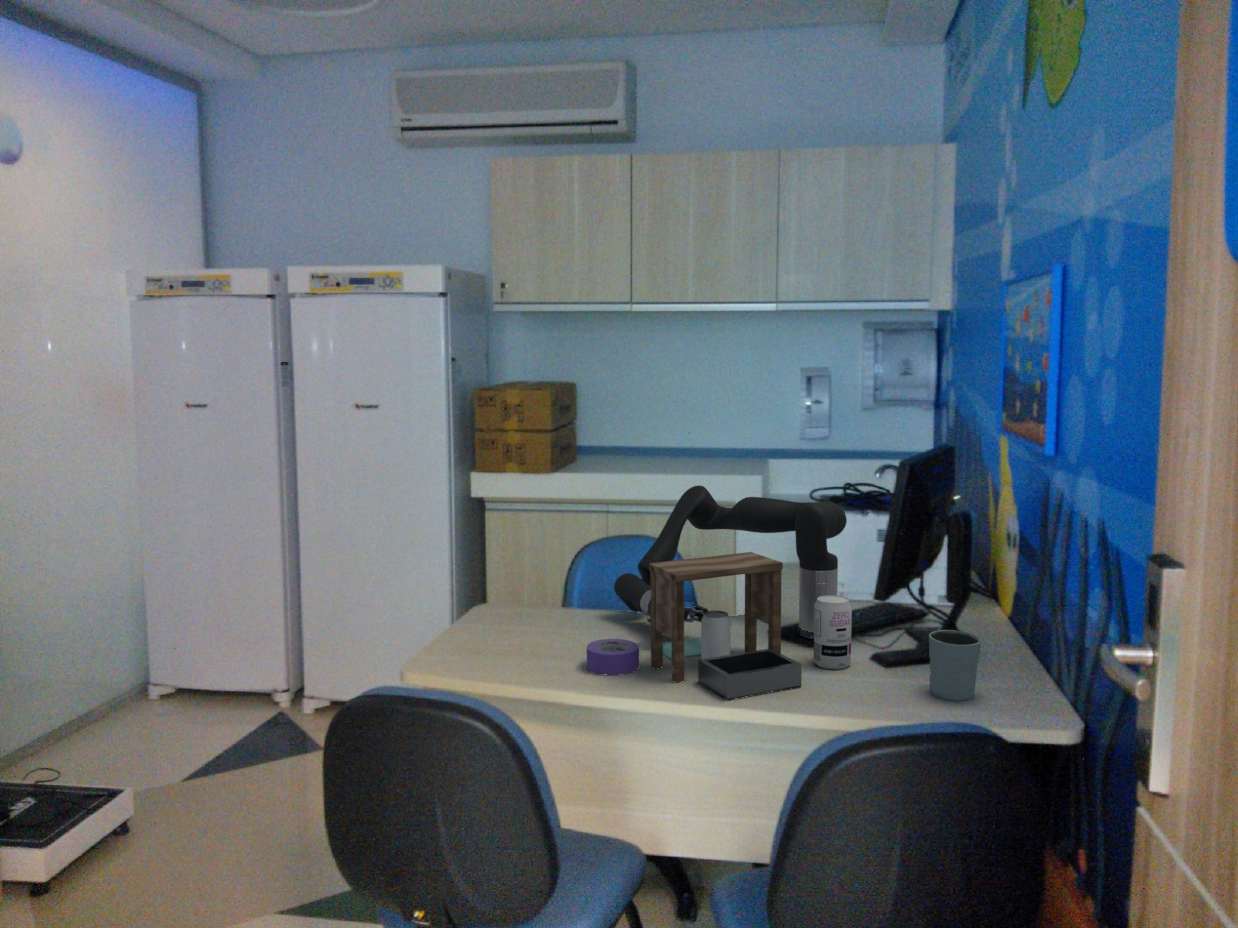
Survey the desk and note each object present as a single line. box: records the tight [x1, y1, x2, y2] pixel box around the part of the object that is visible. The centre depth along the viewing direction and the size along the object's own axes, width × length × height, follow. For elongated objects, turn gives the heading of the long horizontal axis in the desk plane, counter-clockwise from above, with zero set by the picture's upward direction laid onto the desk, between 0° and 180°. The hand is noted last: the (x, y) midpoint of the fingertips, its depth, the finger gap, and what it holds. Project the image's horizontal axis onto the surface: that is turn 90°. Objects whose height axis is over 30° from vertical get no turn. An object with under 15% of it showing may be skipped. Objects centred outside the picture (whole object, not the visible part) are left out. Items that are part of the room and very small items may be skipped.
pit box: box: [697, 648, 803, 701], centre depth 207 cm, size 12×18×5 cm, turn 115°
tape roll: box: [586, 638, 640, 676], centre depth 220 cm, size 12×12×5 cm
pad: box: [647, 636, 701, 661], centre depth 232 cm, size 12×14×1 cm
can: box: [700, 610, 731, 660], centre depth 219 cm, size 6×6×12 cm
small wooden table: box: [649, 551, 784, 684], centre depth 218 cm, size 13×26×24 cm, turn 115°
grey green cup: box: [928, 629, 982, 702], centre depth 200 cm, size 10×10×12 cm
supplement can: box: [813, 595, 853, 670], centre depth 219 cm, size 8×8×15 cm
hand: (692, 623), depth 229 cm, fingers open, 8 cm apart
